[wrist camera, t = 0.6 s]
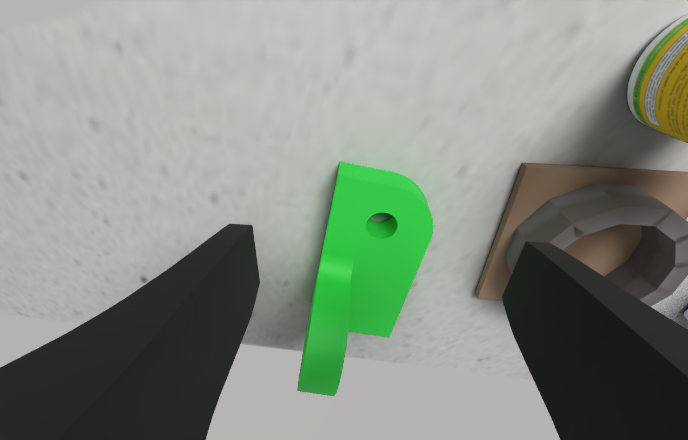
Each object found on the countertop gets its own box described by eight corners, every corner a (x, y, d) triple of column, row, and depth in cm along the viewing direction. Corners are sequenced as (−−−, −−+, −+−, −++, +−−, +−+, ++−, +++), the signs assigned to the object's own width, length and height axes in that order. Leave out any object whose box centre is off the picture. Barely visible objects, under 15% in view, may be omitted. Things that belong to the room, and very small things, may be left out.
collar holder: (705, 173, 18) (764, 201, 15) (615, 301, 23) (647, 338, 21) (522, 162, 18) (549, 188, 16) (475, 292, 24) (489, 328, 21)
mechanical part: (387, 316, 26) (396, 425, 19) (311, 303, 25) (293, 410, 19) (441, 180, 19) (485, 273, 13) (340, 159, 19) (329, 245, 12)
